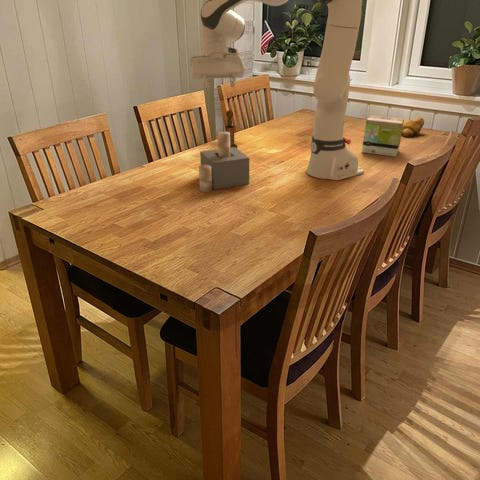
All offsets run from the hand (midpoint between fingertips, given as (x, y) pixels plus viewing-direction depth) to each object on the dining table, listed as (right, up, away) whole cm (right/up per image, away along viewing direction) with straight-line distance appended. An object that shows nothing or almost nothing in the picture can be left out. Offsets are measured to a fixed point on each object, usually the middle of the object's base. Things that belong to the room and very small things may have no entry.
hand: (220, 86), depth 177 cm
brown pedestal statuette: (+3, -19, +32) cm, 37 cm away
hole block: (+2, -35, +1) cm, 35 cm away
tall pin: (+2, -35, +1) cm, 35 cm away
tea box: (+70, -19, +31) cm, 79 cm away
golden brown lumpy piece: (+91, -6, +56) cm, 107 cm away
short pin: (-5, -40, -8) cm, 41 cm away
